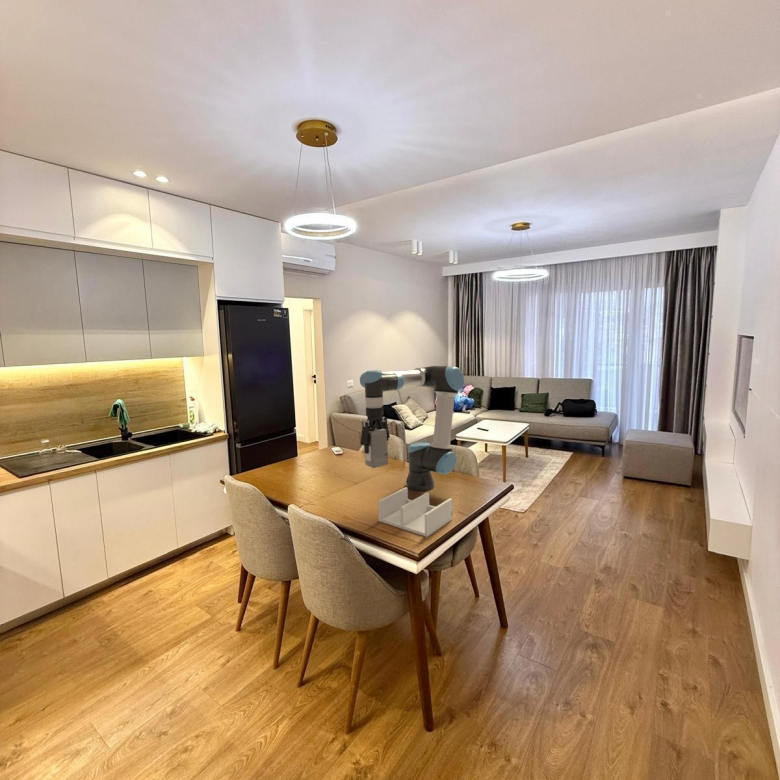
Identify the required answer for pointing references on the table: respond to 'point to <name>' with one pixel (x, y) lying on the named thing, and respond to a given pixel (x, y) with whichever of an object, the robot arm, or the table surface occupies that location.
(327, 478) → the table surface
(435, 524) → the rack
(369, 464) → the skincare box
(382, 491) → the table surface
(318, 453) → the table surface
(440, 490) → the table surface
